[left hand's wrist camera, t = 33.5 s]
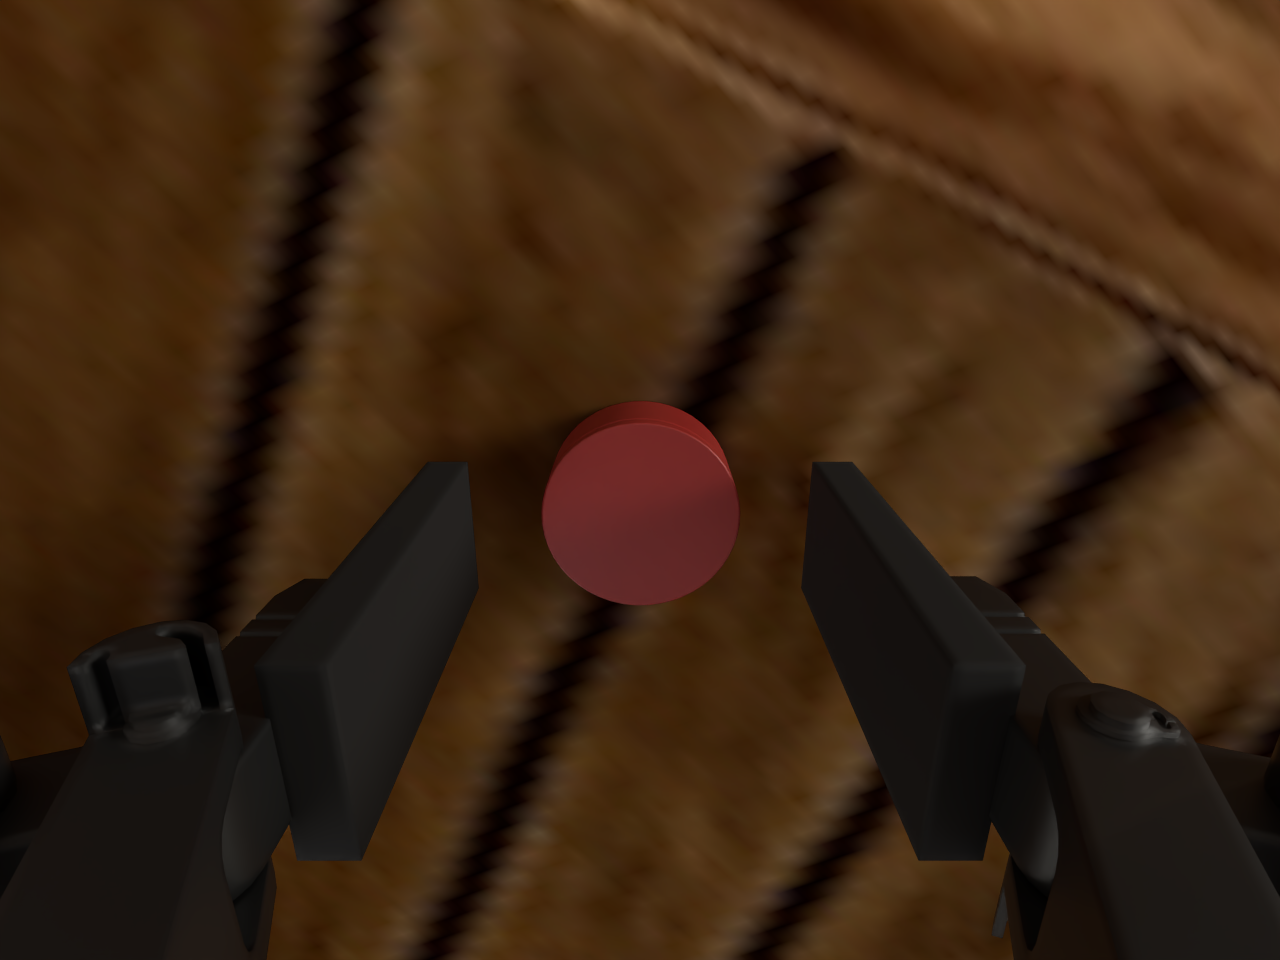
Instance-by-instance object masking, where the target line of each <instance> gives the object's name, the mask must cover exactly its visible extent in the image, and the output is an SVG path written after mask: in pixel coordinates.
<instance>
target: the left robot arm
mask: <svg viewBox="0 0 1280 960" xmlns="http://www.w3.org/2000/svg"><path fill="white" fill-rule="evenodd" d="M478 588H479V586H478V575H477V564H476V553H475V541H474V530H473V519H472V508H471V497H470V486H469V474H468V463H467V462H427V463H426V465H425V466H424V467H423V468H422V469H421V470H420V472H419V473H418V474H417V475H416V476H415V477H414V479H413V480H412V481H411V482H410V483H409V484H408V486H407V487H406V488H405V489H404V490H403V492H402V493H401V494H400V495H399V496H398V497H397V499H396V500H395V501H394V502H393V503H392V504H391V506H390V507H389V508H388V509H387V510H386V511H385V513H384V514H383V515H382V516H381V517H380V518H379V520H378V521H377V522H376V523H375V524H374V525H373V527H372V528H371V529H370V530H369V531H368V533H367V534H366V535H365V536H364V537H363V538H362V540H361V541H360V542H359V543H358V544H357V545H356V547H355V548H354V549H353V550H352V551H351V552H350V554H349V555H348V556H347V557H346V558H345V559H344V561H343V562H342V563H341V564H340V565H339V567H338V568H337V569H336V570H335V571H334V572H333V574H332V575H331V576H330V577H329V578H328V579H303V580H302V581H300V582H298V583H296V584H295V585H293V586H291V587H289V588H288V589H286V590H284V591H282V592H281V593H279V594H277V595H275V596H274V597H273V598H272V599H271V600H270V602H269V603H268V604H267V605H266V606H265V607H264V608H263V609H262V610H261V611H260V612H259V613H258V614H257V615H256V620H251V621H250V622H249V624H248V625H247V626H246V627H245V628H244V629H243V630H242V631H241V632H240V636H236V637H235V638H234V639H233V640H232V641H231V642H230V643H229V644H228V646H227V647H226V648H225V649H224V650H223V651H222V650H221V646H220V642H219V638H218V634H217V631H216V630H215V629H214V628H212V627H211V626H209V625H208V624H206V623H202V622H196V621H190V620H178V621H164V622H158V623H153V624H149V625H145V626H140V627H136V628H132V629H130V630H127V631H124V632H122V633H119V634H117V635H114V636H111V637H109V638H106V639H104V640H103V641H101V642H99V643H97V644H96V645H94V646H92V647H91V648H89V649H87V650H85V651H84V652H82V653H81V654H80V655H79V656H78V657H77V658H76V659H75V660H74V661H73V662H72V663H71V664H70V665H69V666H68V667H67V670H68V673H69V676H70V679H71V682H72V685H73V688H74V691H75V694H76V697H77V700H78V703H79V706H80V709H81V712H82V715H83V718H84V721H85V724H86V727H87V730H88V733H89V737H88V739H87V740H86V742H85V744H84V746H83V747H79V748H74V749H69V750H64V751H59V752H54V753H49V754H44V755H39V756H34V757H29V758H24V759H19V760H14V761H10V759H9V757H8V754H7V751H6V749H5V746H4V744H3V741H2V739H1V736H0V960H266V958H267V951H268V944H269V937H270V930H271V923H272V916H273V909H274V902H275V895H276V888H277V886H276V878H275V871H274V867H273V863H272V858H271V855H272V853H273V851H274V849H275V848H276V846H277V844H278V842H279V841H280V839H281V837H282V835H283V834H284V832H285V830H286V829H287V827H288V825H290V830H291V834H292V839H293V843H294V848H295V852H296V856H297V861H361V860H362V858H363V856H364V853H365V851H366V849H367V846H368V844H369V842H370V839H371V837H372V835H373V832H374V830H375V828H376V825H377V823H378V821H379V818H380V816H381V814H382V811H383V809H384V807H385V804H386V802H387V800H388V797H389V795H390V793H391V790H392V788H393V786H394V784H395V781H396V779H397V777H398V774H399V772H400V770H401V767H402V765H403V763H404V760H405V758H406V756H407V753H408V751H409V749H410V746H411V744H412V742H413V739H414V737H415V735H416V732H417V730H418V728H419V725H420V723H421V721H422V718H423V716H424V714H425V712H426V709H427V707H428V705H429V702H430V700H431V698H432V695H433V693H434V691H435V688H436V686H437V684H438V681H439V679H440V677H441V674H442V672H443V670H444V667H445V665H446V663H447V660H448V658H449V656H450V653H451V651H452V649H453V646H454V644H455V642H456V639H457V637H458V635H459V633H460V630H461V628H462V626H463V623H464V621H465V619H466V616H467V614H468V612H469V609H470V607H471V605H472V602H473V600H474V598H475V595H476V593H477V591H478ZM801 588H802V591H803V593H804V595H805V598H806V600H807V602H808V605H809V607H810V609H811V612H812V614H813V616H814V619H815V621H816V623H817V626H818V628H819V630H820V632H821V635H822V637H823V639H824V642H825V644H826V646H827V649H828V651H829V653H830V656H831V658H832V660H833V663H834V665H835V667H836V670H837V672H838V674H839V677H840V679H841V681H842V684H843V686H844V688H845V691H846V693H847V695H848V698H849V700H850V702H851V705H852V707H853V709H854V711H855V714H856V716H857V718H858V721H859V723H860V725H861V728H862V730H863V732H864V735H865V737H866V739H867V742H868V744H869V746H870V749H871V751H872V753H873V756H874V758H875V760H876V763H877V765H878V767H879V770H880V772H881V774H882V777H883V779H884V781H885V783H886V786H887V788H888V790H889V793H890V795H891V797H892V800H893V802H894V804H895V807H896V809H897V811H898V814H899V816H900V818H901V821H902V823H903V825H904V828H905V830H906V832H907V835H908V837H909V839H910V842H911V844H912V846H913V849H914V851H915V853H916V856H917V858H918V860H919V861H983V857H984V852H985V848H986V843H987V839H988V834H989V830H990V825H991V821H992V823H993V825H994V826H995V828H996V830H997V832H998V833H999V835H1000V837H1001V839H1002V840H1003V842H1004V844H1005V845H1006V847H1007V849H1008V851H1009V852H1010V854H1009V858H1008V863H1007V867H1006V871H1005V875H1004V879H1003V883H1002V888H1001V892H1000V896H999V900H998V904H997V908H996V913H995V917H994V922H993V930H992V935H993V936H997V937H1000V938H1003V934H1004V930H1005V926H1006V922H1007V921H1009V928H1010V935H1011V942H1012V949H1013V956H1014V960H1280V736H1279V739H1278V741H1277V744H1276V746H1275V749H1274V752H1273V754H1272V757H1271V758H1268V757H1263V756H1258V755H1253V754H1248V753H1243V752H1238V751H1233V750H1228V749H1223V748H1218V747H1213V746H1208V745H1203V744H1199V743H1195V741H1194V739H1193V737H1192V735H1191V734H1190V733H1189V731H1188V730H1187V729H1186V728H1185V727H1184V726H1183V724H1182V723H1181V722H1180V721H1179V720H1178V719H1177V718H1176V717H1175V716H1173V715H1172V714H1171V713H1169V712H1168V711H1166V710H1165V709H1163V708H1162V707H1160V706H1159V705H1157V704H1156V703H1154V702H1152V701H1150V700H1148V699H1145V698H1143V697H1141V696H1139V695H1137V694H1134V693H1132V692H1130V691H1127V690H1123V689H1119V688H1116V687H1112V686H1108V685H1105V684H1098V683H1091V682H1090V681H1089V680H1088V679H1087V677H1086V676H1085V675H1084V674H1083V673H1082V672H1081V671H1080V670H1079V669H1078V668H1077V667H1076V666H1075V665H1074V664H1073V663H1072V662H1071V661H1070V660H1069V659H1068V658H1067V657H1066V656H1065V655H1064V654H1063V653H1062V651H1061V650H1060V649H1059V648H1058V647H1057V646H1056V645H1055V644H1054V643H1053V642H1052V641H1051V640H1050V639H1049V638H1048V637H1047V636H1046V635H1045V634H1041V633H1040V629H1039V628H1038V627H1037V625H1036V624H1035V623H1034V622H1033V621H1032V620H1031V619H1030V618H1029V617H1025V615H1024V612H1023V611H1022V610H1021V609H1020V608H1019V607H1018V606H1017V605H1016V604H1015V603H1014V602H1013V601H1012V599H1011V598H1010V597H1009V596H1008V595H1007V594H1006V593H1004V592H1002V591H1001V590H999V589H997V588H995V587H994V586H992V585H990V584H988V583H987V582H985V581H983V580H981V579H979V578H978V577H976V576H949V575H948V574H947V572H946V571H945V570H944V569H943V568H942V566H941V565H940V564H939V563H938V562H937V561H936V559H935V558H934V557H933V556H932V555H931V554H930V552H929V551H928V550H927V549H926V548H925V547H924V545H923V544H922V543H921V542H920V541H919V540H918V538H917V537H916V536H915V535H914V534H913V533H912V531H911V530H910V529H909V528H908V527H907V525H906V524H905V523H904V522H903V521H902V520H901V518H900V517H899V516H898V515H897V514H896V513H895V511H894V510H893V509H892V508H891V507H890V506H889V504H888V503H887V502H886V501H885V500H884V499H883V497H882V496H881V495H880V494H879V493H878V491H877V490H876V489H875V488H874V487H873V486H872V484H871V483H870V482H869V481H868V480H867V479H866V477H865V476H864V475H863V474H862V473H861V472H860V470H859V469H858V468H857V467H856V466H855V465H854V463H853V462H813V463H812V475H811V486H810V497H809V508H808V519H807V530H806V542H805V553H804V564H803V575H802V586H801Z"/></svg>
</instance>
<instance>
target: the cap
mask: <svg viewBox="0 0 1280 960" xmlns="http://www.w3.org/2000/svg"><path fill="white" fill-rule="evenodd" d="M541 514H542V526H543V531H544V536H545V539H546V542H547V545H548V548H549V549H550V551H551V553H552V555H553V557H554V559H555V560H556V562H557V563H558V565H559V566H560V568H561V569H562V570H563V571H564V572H565V573H566V574H567V575H568V576H569V577H570V578H571V579H572V580H573V581H574V582H576V583H577V584H578V585H579V586H581V587H582V588H584V589H585V590H587V591H589V592H591V593H593V594H595V595H597V596H599V597H601V598H604V599H607V600H609V601H613V602H617V603H622V604H630V605H652V604H660V603H664V602H668V601H672V600H675V599H678V598H680V597H683V596H685V595H687V594H689V593H691V592H693V591H695V590H696V589H698V588H699V587H701V586H702V585H704V584H705V583H706V582H707V581H708V580H709V579H711V578H712V577H713V576H714V575H715V574H716V573H717V571H718V570H719V569H720V568H721V567H722V565H723V564H724V563H725V561H726V560H727V558H728V557H729V555H730V553H731V551H732V549H733V547H734V544H735V541H736V538H737V534H738V529H739V524H740V505H739V498H738V493H737V489H736V486H735V483H734V480H733V477H732V475H731V472H730V469H729V466H728V463H727V460H726V458H725V455H724V453H723V450H722V449H721V447H720V445H719V443H718V442H717V440H716V439H715V437H714V436H713V435H712V434H711V432H710V431H709V430H708V429H707V428H706V427H705V426H704V425H703V424H702V423H701V422H699V421H698V420H697V419H695V418H694V417H693V416H691V415H689V414H687V413H686V412H684V411H682V410H680V409H677V408H675V407H672V406H669V405H665V404H661V403H656V402H648V401H633V402H625V403H620V404H616V405H612V406H609V407H607V408H604V409H602V410H599V411H598V412H596V413H594V414H592V415H591V416H589V417H588V418H586V419H585V420H584V421H582V422H581V423H580V424H579V425H578V426H577V427H576V428H575V429H574V430H573V431H572V432H571V433H570V434H569V435H568V437H567V438H566V439H565V441H564V442H563V444H562V446H561V448H560V450H559V451H558V454H557V457H556V459H555V462H554V465H553V468H552V470H551V473H550V476H549V479H548V482H547V485H546V488H545V492H544V496H543V500H542V512H541Z"/></svg>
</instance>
